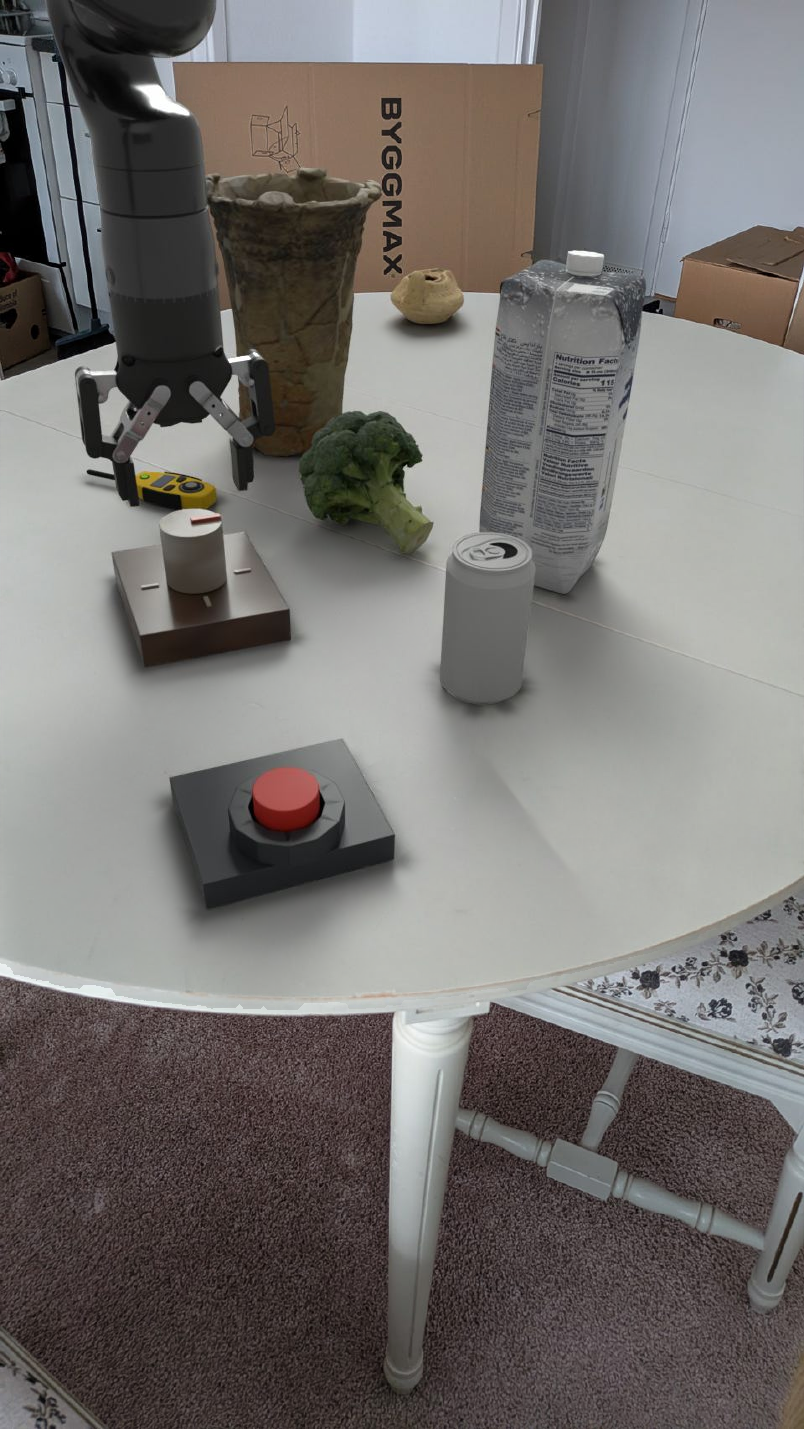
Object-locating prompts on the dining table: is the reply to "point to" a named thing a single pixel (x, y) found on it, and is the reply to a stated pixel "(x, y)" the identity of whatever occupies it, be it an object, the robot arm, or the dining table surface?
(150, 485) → the yellow walkie talkie
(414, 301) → the oil lamp
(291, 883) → the button block
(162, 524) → the knob
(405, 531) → the vegetable
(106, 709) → the dining table surface
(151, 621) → the panel
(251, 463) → the robot arm
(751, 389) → the dining table surface
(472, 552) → the beverage can
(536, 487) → the juice carton
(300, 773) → the button
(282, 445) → the vase
